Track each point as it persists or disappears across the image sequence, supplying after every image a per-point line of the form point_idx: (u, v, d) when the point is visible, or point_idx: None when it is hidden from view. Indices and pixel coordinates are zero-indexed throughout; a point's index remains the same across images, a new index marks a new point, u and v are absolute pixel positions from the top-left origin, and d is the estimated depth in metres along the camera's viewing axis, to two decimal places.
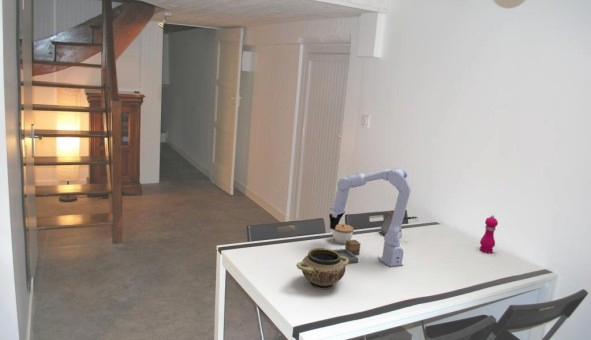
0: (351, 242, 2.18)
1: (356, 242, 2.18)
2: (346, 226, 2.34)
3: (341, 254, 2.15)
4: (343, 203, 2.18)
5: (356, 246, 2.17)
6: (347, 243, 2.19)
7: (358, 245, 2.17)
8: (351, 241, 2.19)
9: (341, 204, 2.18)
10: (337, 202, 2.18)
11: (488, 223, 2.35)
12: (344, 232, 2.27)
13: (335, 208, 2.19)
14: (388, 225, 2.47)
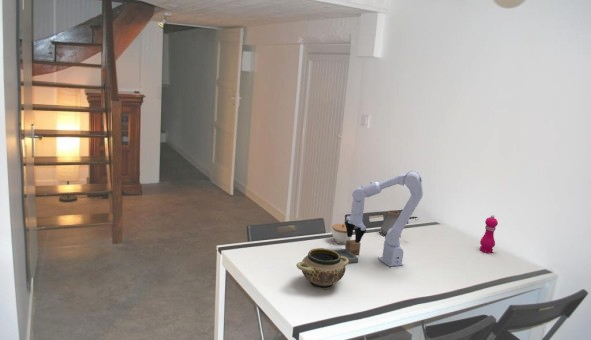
0: (351, 242, 2.18)
1: None
2: None
3: (341, 254, 2.15)
4: (362, 213, 2.14)
5: (356, 246, 2.17)
6: (347, 243, 2.19)
7: (358, 245, 2.17)
8: (351, 241, 2.19)
9: (361, 215, 2.14)
10: (358, 214, 2.13)
11: (488, 223, 2.35)
12: (344, 232, 2.27)
13: (356, 221, 2.13)
14: (388, 225, 2.47)
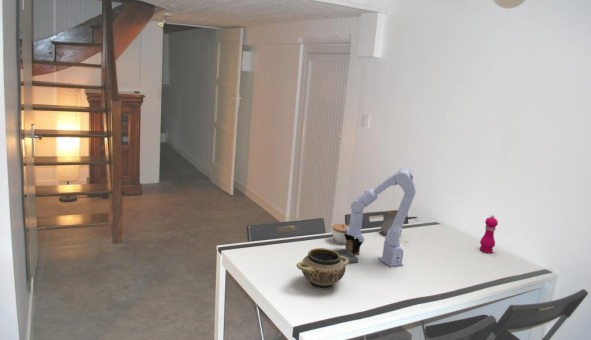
0: (351, 242, 2.18)
1: None
2: (346, 226, 2.34)
3: (341, 254, 2.15)
4: (361, 225, 2.16)
5: None
6: (347, 243, 2.19)
7: None
8: (351, 241, 2.19)
9: (360, 226, 2.15)
10: (356, 226, 2.14)
11: (488, 223, 2.35)
12: (344, 232, 2.27)
13: (355, 232, 2.14)
14: (388, 225, 2.47)
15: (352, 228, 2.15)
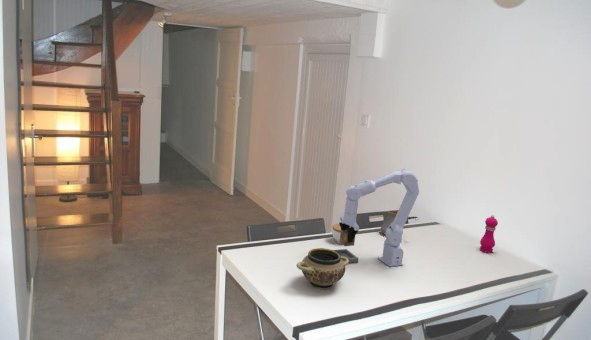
0: (346, 232, 2.11)
1: None
2: None
3: (341, 254, 2.15)
4: (356, 213, 2.09)
5: None
6: (342, 233, 2.12)
7: None
8: (346, 231, 2.12)
9: (355, 215, 2.08)
10: (351, 214, 2.07)
11: (488, 223, 2.35)
12: None
13: (350, 221, 2.08)
14: (388, 225, 2.47)
15: (347, 216, 2.08)
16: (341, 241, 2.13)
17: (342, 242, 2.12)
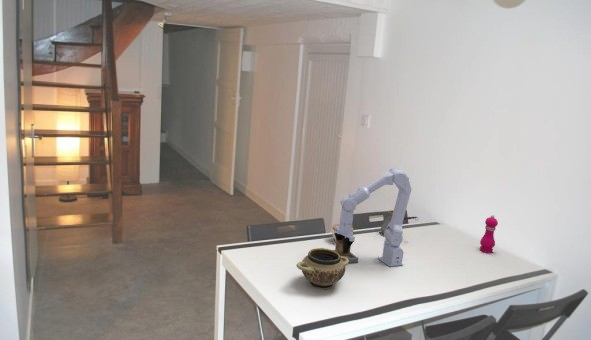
0: (341, 242, 2.09)
1: None
2: None
3: None
4: (351, 223, 2.07)
5: None
6: (337, 244, 2.10)
7: None
8: (341, 241, 2.10)
9: (350, 225, 2.06)
10: (347, 225, 2.05)
11: (488, 223, 2.35)
12: None
13: (345, 231, 2.06)
14: None
15: (342, 227, 2.06)
16: None
17: None
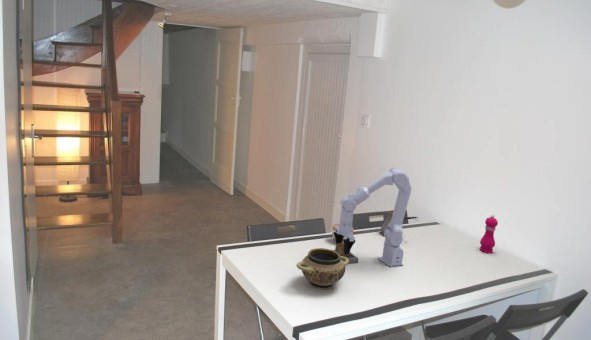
0: (341, 245, 2.10)
1: None
2: None
3: None
4: (351, 224, 2.07)
5: None
6: (337, 246, 2.11)
7: None
8: (341, 244, 2.11)
9: (350, 225, 2.06)
10: (347, 225, 2.05)
11: (488, 223, 2.35)
12: None
13: (345, 231, 2.06)
14: None
15: (342, 227, 2.06)
16: None
17: None
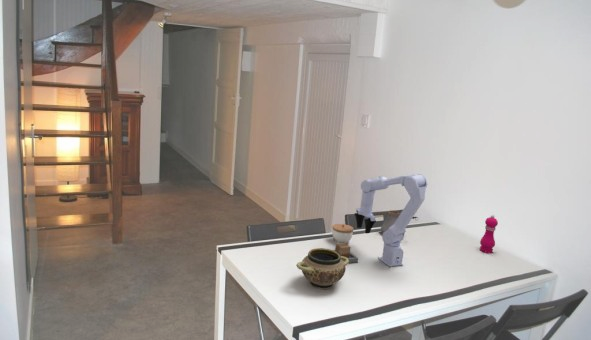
0: (341, 245, 2.10)
1: (346, 245, 2.10)
2: (346, 226, 2.34)
3: None
4: (372, 205, 2.20)
5: (346, 250, 2.09)
6: (337, 246, 2.11)
7: (348, 249, 2.09)
8: (341, 244, 2.11)
9: (371, 206, 2.20)
10: (368, 206, 2.19)
11: (488, 223, 2.35)
12: (344, 232, 2.27)
13: (366, 212, 2.19)
14: (388, 225, 2.47)
15: (363, 208, 2.19)
16: None
17: None
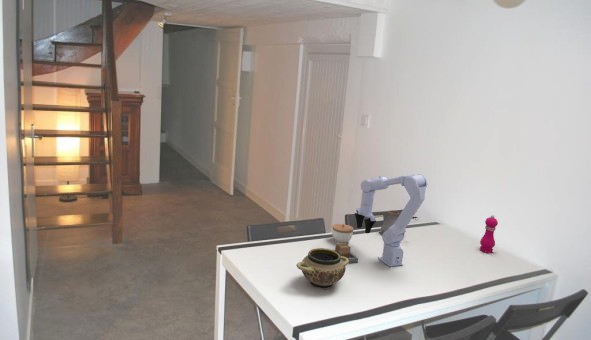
0: (341, 245, 2.10)
1: (346, 245, 2.10)
2: (346, 226, 2.34)
3: None
4: (372, 205, 2.20)
5: (346, 250, 2.09)
6: (337, 246, 2.11)
7: (348, 249, 2.09)
8: (341, 244, 2.11)
9: (371, 206, 2.20)
10: (368, 206, 2.19)
11: (488, 223, 2.35)
12: (344, 232, 2.27)
13: (366, 212, 2.19)
14: (388, 225, 2.47)
15: (363, 208, 2.19)
16: None
17: None
